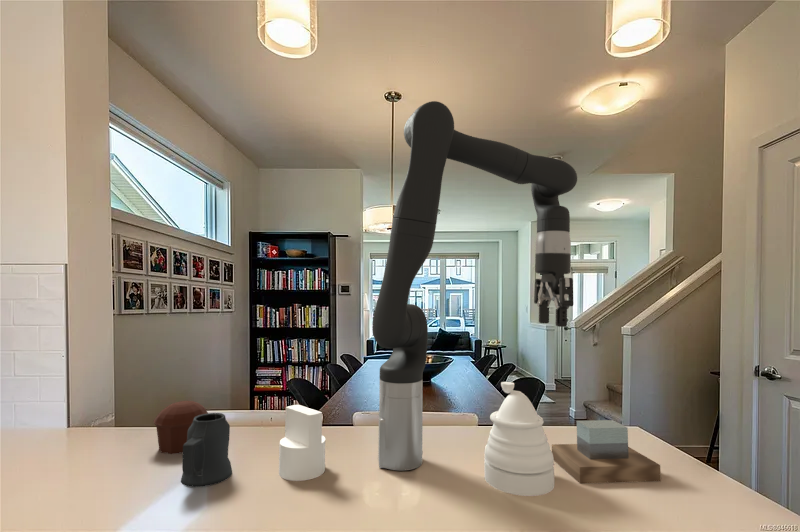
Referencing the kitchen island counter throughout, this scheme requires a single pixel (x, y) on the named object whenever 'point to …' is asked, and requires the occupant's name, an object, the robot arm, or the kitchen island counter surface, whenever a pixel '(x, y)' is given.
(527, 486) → the honey pot
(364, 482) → the kitchen island counter surface
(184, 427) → the muffin
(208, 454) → the mug
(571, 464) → the walnut stand
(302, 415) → the base with upright slab
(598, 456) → the block
